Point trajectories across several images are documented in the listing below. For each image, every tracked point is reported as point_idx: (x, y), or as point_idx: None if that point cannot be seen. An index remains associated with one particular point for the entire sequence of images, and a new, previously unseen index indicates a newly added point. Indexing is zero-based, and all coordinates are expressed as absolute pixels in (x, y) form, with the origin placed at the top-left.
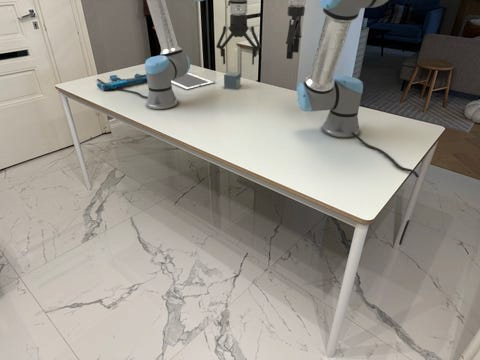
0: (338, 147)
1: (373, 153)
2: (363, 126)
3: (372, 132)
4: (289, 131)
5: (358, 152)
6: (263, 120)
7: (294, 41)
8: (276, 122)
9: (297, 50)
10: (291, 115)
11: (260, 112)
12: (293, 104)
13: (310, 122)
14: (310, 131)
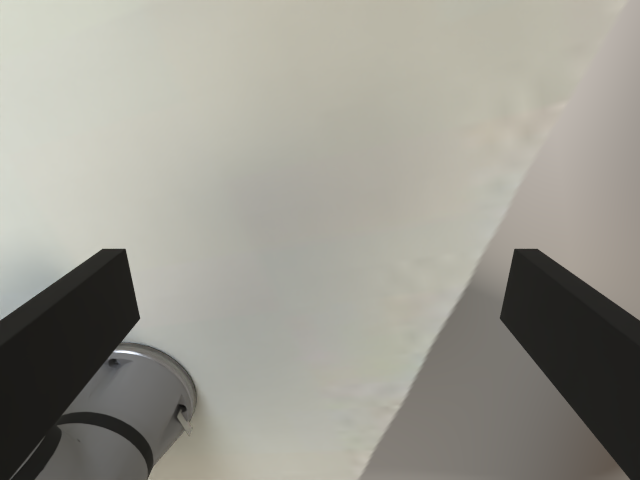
0: None
1: None
2: (208, 445)
3: (174, 465)
4: (21, 234)
5: None
6: (61, 88)
7: (632, 364)
8: (75, 159)
9: (516, 325)
10: (190, 206)
11: (153, 36)
12: (337, 184)
13: (154, 293)
14: None
